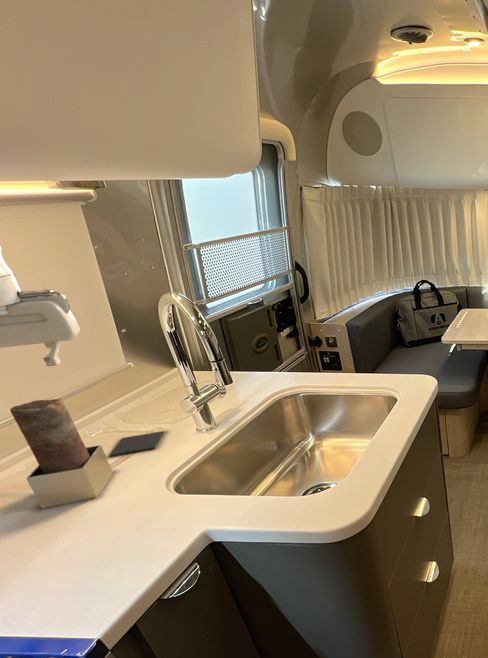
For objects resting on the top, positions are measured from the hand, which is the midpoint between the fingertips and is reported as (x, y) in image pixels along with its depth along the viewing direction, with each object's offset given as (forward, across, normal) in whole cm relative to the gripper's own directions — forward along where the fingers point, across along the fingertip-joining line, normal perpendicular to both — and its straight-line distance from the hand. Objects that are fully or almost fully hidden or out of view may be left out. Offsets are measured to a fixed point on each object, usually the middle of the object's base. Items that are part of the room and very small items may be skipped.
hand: (21, 368), depth 89 cm
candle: (+27, 0, 0) cm, 27 cm away
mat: (+27, -6, -17) cm, 32 cm away
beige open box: (+27, 0, 0) cm, 27 cm away
